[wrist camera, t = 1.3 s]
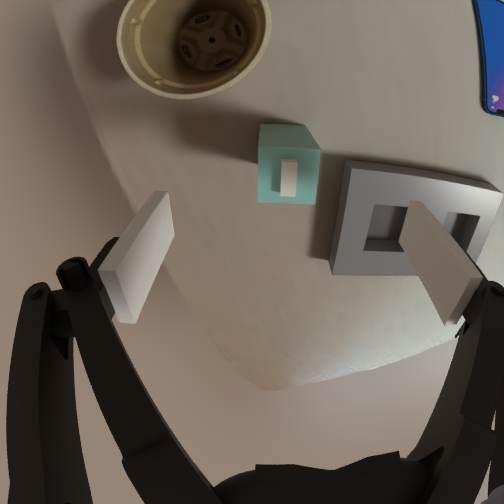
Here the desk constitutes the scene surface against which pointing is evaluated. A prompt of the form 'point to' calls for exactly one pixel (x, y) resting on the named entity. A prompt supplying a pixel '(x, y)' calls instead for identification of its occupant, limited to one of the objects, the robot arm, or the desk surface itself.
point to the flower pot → (191, 44)
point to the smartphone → (491, 53)
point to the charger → (287, 164)
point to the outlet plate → (404, 215)
